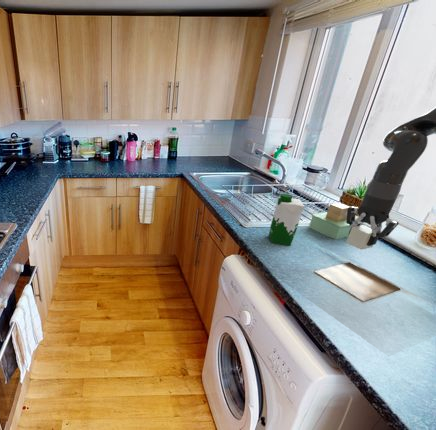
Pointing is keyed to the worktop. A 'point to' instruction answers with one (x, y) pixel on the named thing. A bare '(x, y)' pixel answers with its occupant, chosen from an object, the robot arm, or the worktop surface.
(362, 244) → the cream box
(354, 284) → the shiny metal sheet
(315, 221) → the storage box
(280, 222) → the milk carton
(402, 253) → the worktop surface
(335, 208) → the kraft box
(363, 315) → the worktop surface
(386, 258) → the worktop surface
